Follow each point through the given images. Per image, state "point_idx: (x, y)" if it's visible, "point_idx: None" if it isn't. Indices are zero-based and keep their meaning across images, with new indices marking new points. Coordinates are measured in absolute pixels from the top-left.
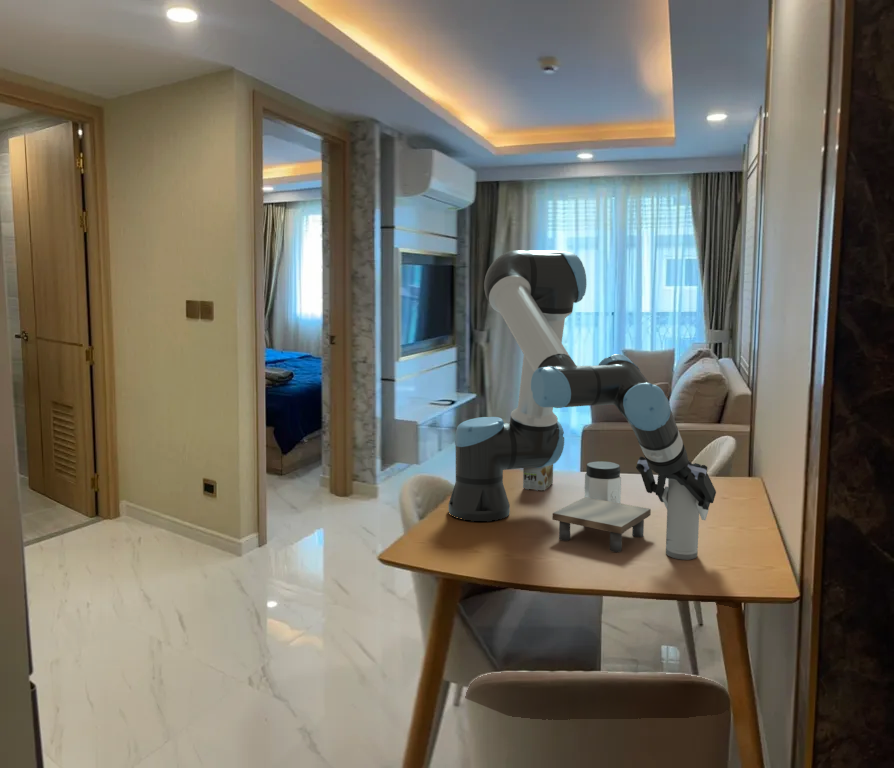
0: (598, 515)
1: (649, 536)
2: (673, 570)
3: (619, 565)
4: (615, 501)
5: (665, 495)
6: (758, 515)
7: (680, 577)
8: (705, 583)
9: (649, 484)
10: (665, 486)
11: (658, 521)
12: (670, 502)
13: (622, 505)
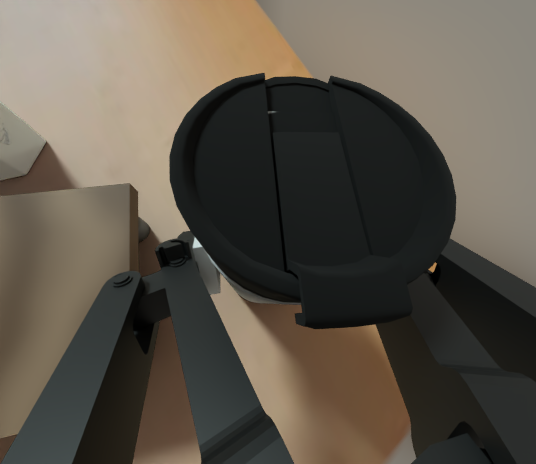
0: (8, 356)
1: (160, 219)
2: (293, 367)
3: (193, 445)
4: (7, 132)
5: (215, 283)
6: (254, 26)
7: (323, 394)
8: (370, 382)
9: (142, 402)
10: (193, 248)
11: (136, 133)
12: (247, 297)
13: (45, 207)
